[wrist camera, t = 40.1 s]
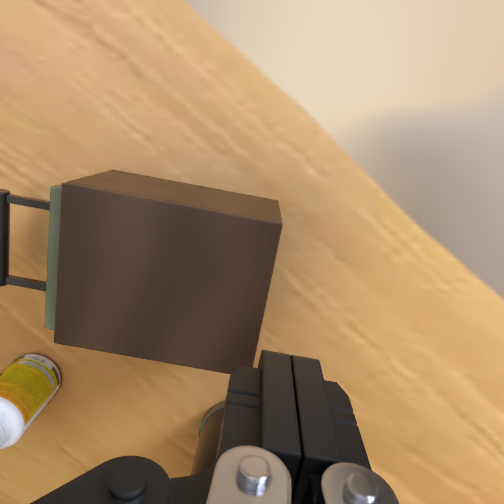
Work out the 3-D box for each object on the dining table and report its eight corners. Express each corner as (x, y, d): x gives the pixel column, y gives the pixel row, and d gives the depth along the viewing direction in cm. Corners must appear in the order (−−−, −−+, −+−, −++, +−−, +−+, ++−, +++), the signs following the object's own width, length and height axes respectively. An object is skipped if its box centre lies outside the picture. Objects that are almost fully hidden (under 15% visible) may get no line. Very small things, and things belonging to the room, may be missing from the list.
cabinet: (102, 294, 42) (53, 343, 32) (112, 169, 38) (61, 183, 29) (253, 321, 42) (250, 378, 33) (278, 200, 39) (282, 224, 29)
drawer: (25, 278, 41) (-33, 314, 33) (28, 162, 37) (-35, 170, 30) (231, 315, 41) (224, 360, 33) (252, 203, 38) (249, 223, 30)
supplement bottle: (20, 343, 44) (-51, 404, 34) (70, 364, 44) (14, 430, 34) (5, 384, 45) (-66, 454, 35) (53, 404, 46) (-4, 478, 36)
